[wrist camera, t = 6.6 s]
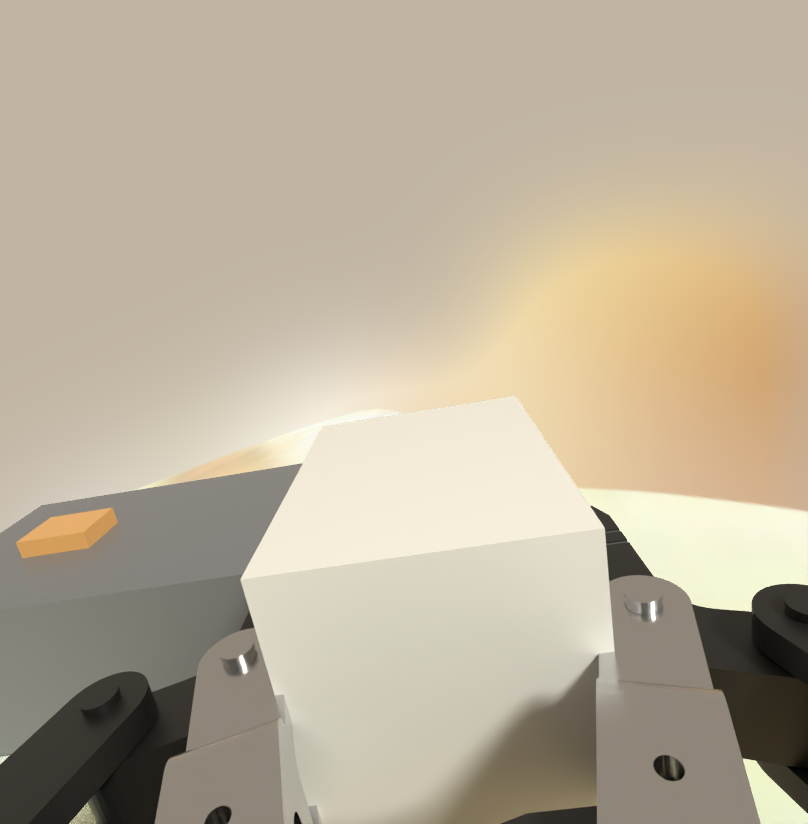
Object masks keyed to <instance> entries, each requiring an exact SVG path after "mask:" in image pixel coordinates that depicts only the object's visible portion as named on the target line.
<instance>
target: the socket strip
mask: <svg viewBox="0 0 808 824" xmlns="http://www.w3.org/2000/svg"><path fill="white" fill-rule="evenodd" d="M301 466H302V464H297V465H290V466H284V467H278V468H272V469H266V470H259V471H253V472H247V473H241V474H235V475H228V476H222V477H216V478H210V479H204V480H197V481H191V482H185V483H179V484H172V485H166V486H160V487H154V488H148V489H141V490H135V491H129V492H124V493H117V494H110V495H104V496H98V497H92V498H86V499H80V500H74V501H67V502H61V503H55V504H48V505H42V506H40V507H39V508H37V509H36V510H34V511H33V512H32V513H30V514H28V515H27V516H25V517H24V518H22V519H21V520H19V521H18V522H16V523H15V524H13V525H12V526H11V527H9V528H8V529H6V530H5V531H3V532H2V533H0V756H4V755H11V754H12V753H13V752H15V751H16V750H17V749H18V748H19V747H20V746H21V745H22V744H23V743H24V742H25V741H26V740H28V739H29V738H30V737H31V736H32V735H33V734H34V733H35V732H36V731H37V730H38V729H39V728H41V727H42V726H43V725H44V724H45V723H46V722H47V721H48V720H49V719H50V718H51V717H52V716H53V715H55V714H56V713H57V712H58V711H59V710H60V709H61V708H62V707H63V706H64V705H65V704H66V703H68V702H69V701H70V700H71V699H72V698H73V697H74V696H75V695H77V694H78V693H79V692H81V691H82V690H83V689H85V688H86V687H88V686H89V685H91V684H93V683H95V682H97V681H98V680H100V679H103V678H105V677H107V676H110V675H113V674H116V673H121V672H128V671H133V672H139V673H141V674H143V675H144V676H145V677H146V678H147V681H148V683H149V686H150V688H151V691H152V692H154V691H156V690H159V689H162V688H164V687H167V686H170V685H173V684H175V683H178V682H181V681H184V680H186V679H189V678H191V677H194V676H196V675H197V669H198V665H199V663H200V661H201V659H202V657H203V656H204V654H205V653H206V652H207V651H208V650H209V649H210V648H211V647H212V646H213V645H214V644H216V643H217V642H219V641H220V640H222V639H223V638H225V637H227V636H229V635H231V634H233V633H236V632H238V631H240V629H241V627H242V625H243V623H244V621H245V619H246V616H247V614H248V612H249V607H248V604H247V601H246V597H245V594H244V590H243V587H242V584H241V580H240V579H241V577H242V575H243V574H244V572H245V570H246V568H247V566H248V564H249V562H250V561H251V559H252V557H253V555H254V553H255V551H256V550H257V548H258V546H259V544H260V542H261V540H262V538H263V537H264V535H265V533H266V531H267V529H268V527H269V525H270V524H271V522H272V520H273V518H274V516H275V514H276V512H277V511H278V509H279V507H280V505H281V503H282V501H283V499H284V498H285V496H286V494H287V492H288V490H289V488H290V487H291V485H292V483H293V481H294V479H295V477H296V475H297V474H298V472H299V470H300V468H301Z"/></svg>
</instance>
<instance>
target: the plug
mask: <svg viewBox="0 0 808 824" xmlns="http://www.w3.org/2000/svg"><path fill="white" fill-rule="evenodd" d="M240 580H241V584H242V587H243V590H244V594H245V597H246V601H247V604H248V607H249V611H250V614H251V617H252V621H253V624H254V627H255V631H256V634H257V637H258V641H259V644H260V647H261V651H262V654H263V658H264V661H265V664H266V668H267V671H268V674H269V678H270V681H271V684H272V688H273V691H274V694H275V695H283V694H284V697H285V701H286V704H287V707H288V711H289V714H290V717H291V721H292V730H293V741H294V750H295V757H296V763H297V768H298V772H299V777H300V781H301V784H302V788H303V791H304V794H305V797H306V801H307V804H308V806H314V805H317V808H318V811H319V814H320V818H321V821H322V824H501V823H504V822H506V821H509V820H511V819H514V818H516V817H519V816H522V815H524V814H527V813H534V812H544V811H553V810H562V809H571V808H580V807H590V806H597V758H596V678H599V654H600V653H607V652H615V650H614V638H613V625H612V612H611V600H610V587H609V574H608V562H607V549H606V537H605V528H604V526H603V525H602V523H601V522H600V520H599V519H598V517H597V516H596V514H595V513H594V511H593V510H592V508H591V507H590V505H589V504H588V502H587V501H586V499H585V498H584V496H583V495H582V493H581V492H580V490H579V489H578V487H577V486H576V485H575V483H574V482H573V480H572V479H571V477H570V476H569V474H568V473H567V472H566V470H565V468H564V467H563V465H562V464H561V462H560V461H559V459H558V458H557V456H556V455H555V453H554V452H553V450H552V449H551V447H550V446H549V444H548V443H547V442H546V440H545V438H544V437H543V436H542V434H541V433H540V431H539V430H538V428H537V427H536V425H535V424H534V422H533V421H532V419H531V418H530V416H529V415H528V413H527V412H526V410H525V409H524V407H523V406H522V404H521V403H520V401H519V400H518V398H517V397H516V396H510V397H504V398H499V399H492V400H486V401H480V402H473V403H467V404H461V405H455V406H448V407H442V408H437V409H430V410H423V411H418V412H411V413H405V414H399V415H392V416H386V417H380V418H374V419H367V420H361V421H355V422H349V423H343V424H336V425H330V426H324V427H322V429H321V431H320V433H319V435H318V436H317V438H316V440H315V442H314V444H313V446H312V448H311V449H310V451H309V453H308V455H307V457H306V459H305V461H304V462H303V464H302V466H301V468H300V470H299V472H298V474H297V475H296V477H295V479H294V481H293V483H292V485H291V487H290V488H289V490H288V492H287V494H286V496H285V498H284V499H283V501H282V503H281V505H280V507H279V509H278V511H277V512H276V514H275V516H274V518H273V520H272V522H271V524H270V525H269V527H268V529H267V531H266V533H265V535H264V537H263V538H262V540H261V542H260V544H259V546H258V548H257V550H256V551H255V553H254V555H253V557H252V559H251V561H250V562H249V564H248V566H247V568H246V570H245V572H244V574H243V575H242V577H241V579H240Z"/></svg>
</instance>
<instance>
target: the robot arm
mask: <svg viewBox="0 0 808 824" xmlns="http://www.w3.org/2000/svg"><path fill="white" fill-rule="evenodd" d="M590 507H591V508H592V510H593V511H594V513H595V514H596V516H597V517H598V519H599V520H600V522H601V523H602V525H603V526H604V528H605V537H606V549H607V562H608V574H609V587H610V600H611V612H612V625H613V638H614V650H615V652H607V653H600V654H599V678H596V758H597V806H590V807H580V808H571V809H562V810H553V811H544V812H534V813H527V814H524V815H522V816H519V817H516V818H514V819H511V820H509V821H506V822H504V823H501V824H760V820H759V817H758V813H757V809H756V806H755V802H754V799H753V795H752V791H751V788H750V784H749V781H748V777H747V774H746V770H745V766H744V763H743V759H742V758H744V759H750V760H756V761H757V762H758V764H759V765H760V767H761V768H762V769H763V771H764V772H765V773H766V774H767V775H768V776H769V777H770V778H771V779H772V780H773V781H774V782H775V783H776V784H777V785H778V786H780V787H781V788H782V789H783V790H784V791H785V792H786V793H787V794H788V795H789V796H790V797H791V798H792V799H793V800H794V801H795V802H796V803H797V804H798V805H799V806H800V807H801V808H802V809H804V810H805V811H806V812H807V813H808V585H800V584H780V585H773V586H770V587H766V588H764V589H762V590H760V591H759V592H757V593H756V594H755V596H754V597H753V600H752V612H746V611H733V610H720V609H711V608H705V607H700V606H696V605H693V604H692V603H691V601H690V598H689V597H688V595H687V594H686V593H685V592H684V591H683V590H682V589H681V588H680V587H678V586H677V585H675V584H673V583H671V582H669V581H666V580H664V579H661V578H657V577H654V576H653V575H652V574H651V572H650V571H649V569H648V568H647V567H646V565H645V564H644V563H643V561H642V560H641V558H640V557H639V556H638V554H637V553H636V551H635V550H634V549H633V547H632V546H631V545H630V543H629V542H627V539H626V538H625V536H624V535H623V534H622V532H621V531H619V528H618V527H617V525H616V524H615V522H614V521H613V520H612V518H611V517H610V516H609V515H608V514H606V513H604V512H602V511H600V510H598V509H597V508H595V507H593V506H590ZM87 802H88V804H89V806H90V808H91V811H92V813H93V815H94V817H95V819H96V822H97V824H322V821H321V818H320V814H319V811H318V808H317V805H314V806H308V804H307V801H306V797H305V794H304V791H303V788H302V784H301V781H300V777H299V772H298V768H297V763H296V757H295V750H294V741H293V730H292V721H291V717H290V714H289V711H288V707H287V704H286V701H285V697H284V694H283V695H275V694H274V691H273V688H272V684H271V681H270V678H269V674H268V671H267V668H266V664H265V661H264V658H263V654H262V651H261V647H260V644H259V641H258V637H257V634H256V631H255V627H254V624H253V621H252V617H251V614H250V611H249V612H248V614H247V616H246V619H245V621H244V623H243V625H242V627H241V629H240V631H238V632H236V633H233V634H231V635H229V636H227V637H225V638H223V639H222V640H220V641H219V642H217V643H216V644H214V645H213V646H212V647H211V648H210V649H209V650H208V651H207V652H206V653H205V654H204V656H203V657H202V659H201V661H200V663H199V665H198V669H197V675H196V676H194V677H191V678H189V679H186V680H184V681H181V682H178V683H175V684H173V685H170V686H167V687H164V688H162V689H159V690H156V691H154V692H152V691H151V688H150V686H149V683H148V681H147V678H146V677H145V676H144V675H143V674H141V673H139V672H133V671H128V672H121V673H116V674H113V675H110V676H107V677H105V678H103V679H100V680H98V681H97V682H95V683H93V684H91V685H89V686H88V687H86V688H85V689H83V690H82V691H81V692H79V693H78V694H77V695H75V696H74V697H73V698H72V699H71V700H70V701H69V702H68V703H66V704H65V705H64V706H63V707H62V708H61V709H60V710H59V711H58V712H57V713H56V714H55V715H53V716H52V717H51V718H50V719H49V720H48V721H47V722H46V723H45V724H44V725H43V726H42V727H41V728H39V729H38V730H37V731H36V732H35V733H34V734H33V735H32V736H31V737H30V738H29V739H28V740H26V741H25V742H24V743H23V744H22V745H21V746H20V747H19V748H18V749H17V750H16V751H15V752H13V753H12V754H11V755H10V756H9V757H8V758H7V759H6V760H5V761H4V762H3V763H2V764H1V765H0V824H69V823H70V822H71V820H72V819H73V818H74V817H75V816H76V815H77V814H78V812H79V811H80V810H81V809H82V808H83V807H84V805H85V804H86V803H87Z"/></svg>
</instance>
